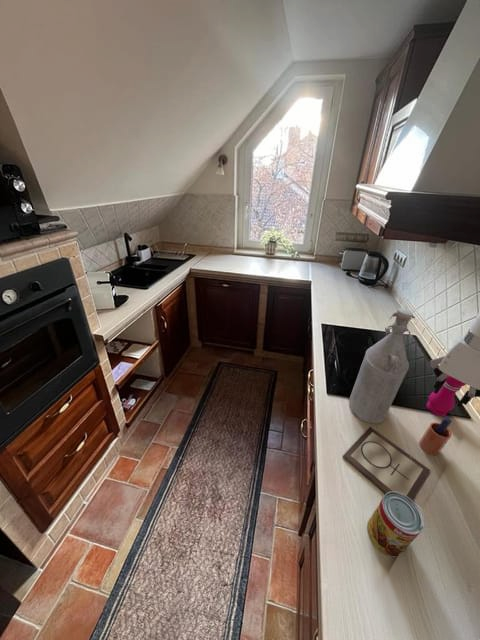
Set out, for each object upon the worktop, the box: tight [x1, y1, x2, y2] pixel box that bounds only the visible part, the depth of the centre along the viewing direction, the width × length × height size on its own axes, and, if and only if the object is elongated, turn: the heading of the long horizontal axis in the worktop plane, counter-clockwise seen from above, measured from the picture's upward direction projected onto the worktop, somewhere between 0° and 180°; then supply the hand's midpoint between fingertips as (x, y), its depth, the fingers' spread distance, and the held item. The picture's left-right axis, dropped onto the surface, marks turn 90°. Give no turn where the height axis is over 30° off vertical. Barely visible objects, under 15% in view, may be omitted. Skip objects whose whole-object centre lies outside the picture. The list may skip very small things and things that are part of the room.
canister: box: [348, 307, 416, 424], centre depth 82 cm, size 13×17×40 cm
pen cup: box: [418, 422, 452, 456], centre depth 77 cm, size 5×5×9 cm
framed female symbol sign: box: [342, 426, 431, 502], centre depth 74 cm, size 18×16×1 cm
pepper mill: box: [425, 376, 467, 417], centre depth 87 cm, size 7×7×20 cm
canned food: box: [366, 491, 425, 557], centre depth 57 cm, size 8×8×12 cm
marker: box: [435, 416, 452, 436], centre depth 76 cm, size 2×2×13 cm
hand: (448, 396), depth 67 cm, fingers open, 4 cm apart
